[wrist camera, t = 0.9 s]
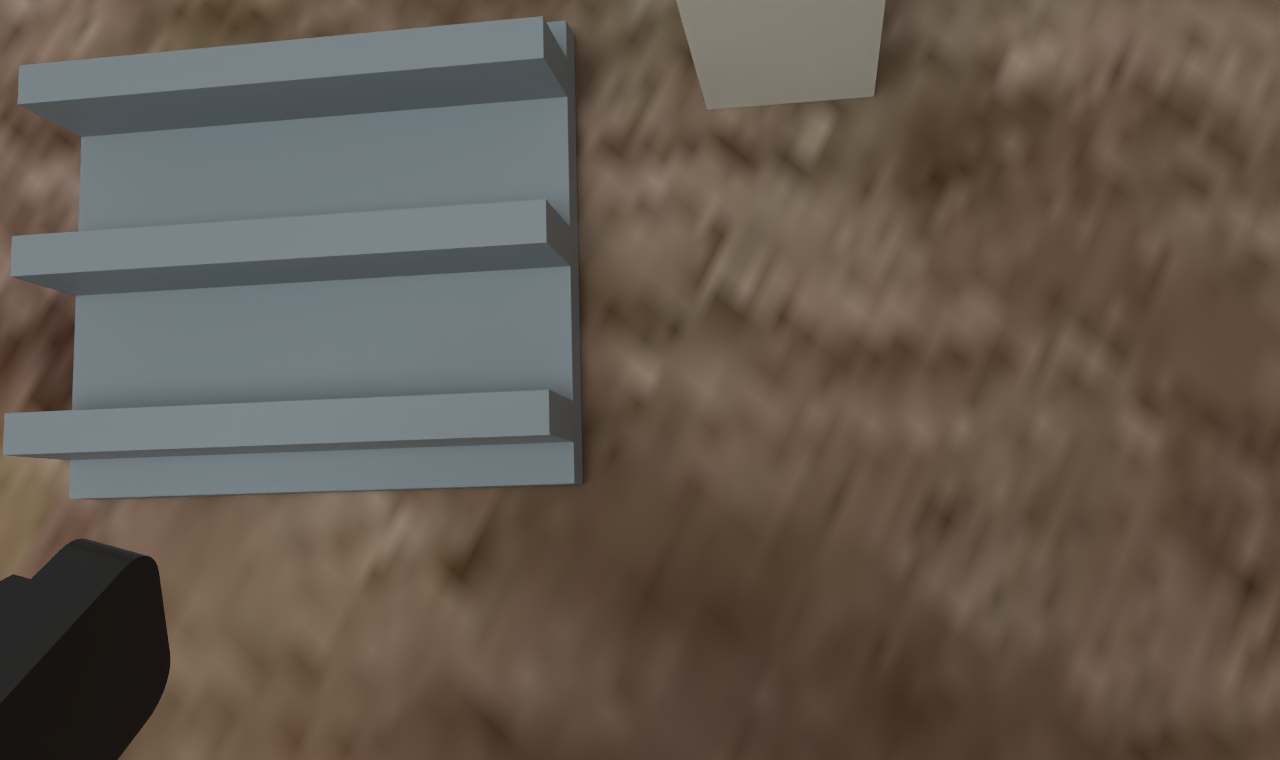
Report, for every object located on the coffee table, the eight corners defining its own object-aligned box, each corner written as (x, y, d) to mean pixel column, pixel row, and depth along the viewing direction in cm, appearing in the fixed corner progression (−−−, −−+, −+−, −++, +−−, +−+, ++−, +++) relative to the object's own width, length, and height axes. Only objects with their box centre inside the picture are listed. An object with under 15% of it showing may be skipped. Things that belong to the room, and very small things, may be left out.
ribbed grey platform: (574, 36, 36) (542, -26, 32) (582, 484, 34) (549, 480, 30) (106, 79, 39) (20, 26, 34) (92, 499, 37) (1, 497, 33)
